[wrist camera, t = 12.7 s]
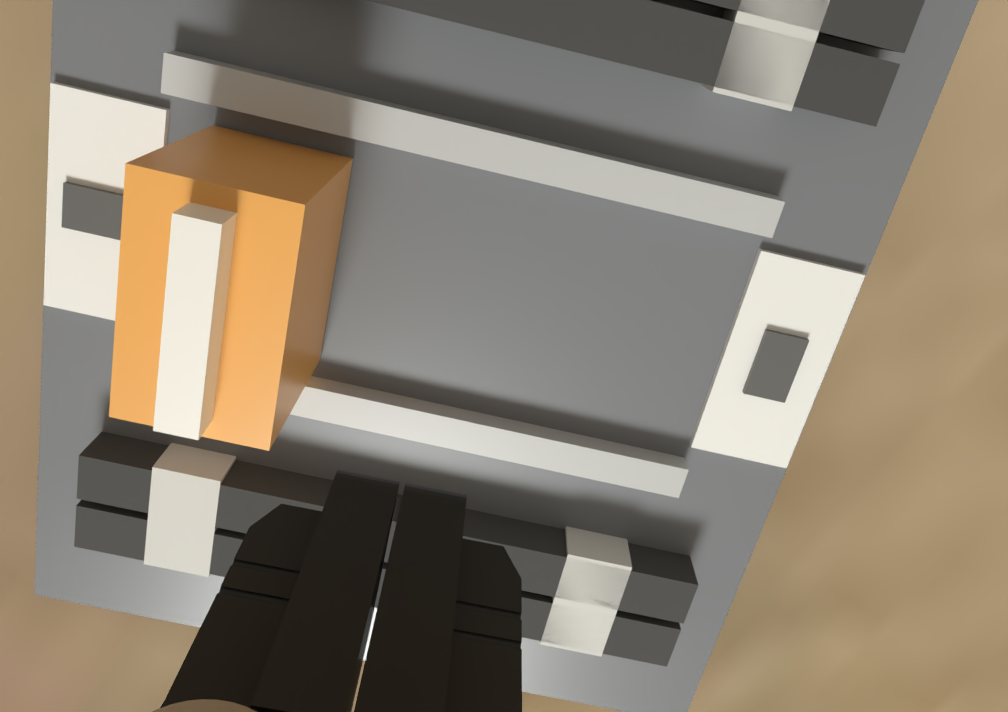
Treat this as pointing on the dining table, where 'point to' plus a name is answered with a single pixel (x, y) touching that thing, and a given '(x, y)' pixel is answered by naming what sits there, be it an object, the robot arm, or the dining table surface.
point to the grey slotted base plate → (531, 547)
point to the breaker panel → (491, 279)
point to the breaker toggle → (224, 283)
